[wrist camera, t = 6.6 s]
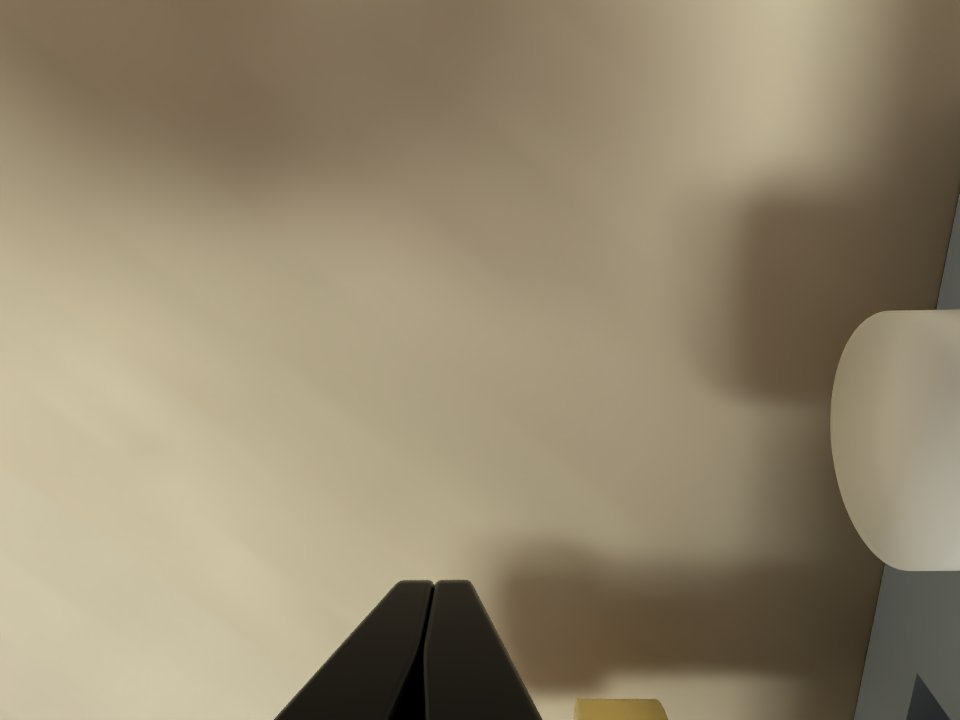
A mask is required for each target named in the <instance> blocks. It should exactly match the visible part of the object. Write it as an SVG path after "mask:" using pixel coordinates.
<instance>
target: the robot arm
mask: <svg viewBox="0 0 960 720" xmlns="http://www.w3.org/2000/svg"><path fill="white" fill-rule="evenodd" d="M274 720H542V718H541V716H540V714H539V712H538V710H537V708H536V706H535V704H534V702H533V700H532V699H531V697H530V695H529V693H528V691H527V689H526V687H525V685H524V683H523V681H522V679H521V677H520V675H519V673H518V671H517V670H516V668H515V666H514V664H513V662H512V660H511V658H510V656H509V654H508V652H507V650H506V648H505V646H504V644H503V642H502V641H501V639H500V637H499V635H498V633H497V631H496V629H495V627H494V625H493V623H492V621H491V619H490V617H489V615H488V613H487V611H486V610H485V608H484V606H483V604H482V602H481V600H480V598H479V596H478V594H477V592H476V590H475V588H474V586H473V585H472V583H471V582H470V581H468V580H440V581H438V582H437V583H436V584H435V586H434V584H433V582H432V581H430V580H403V581H400V582H398V583H397V584H396V585H395V586H394V587H393V588H392V589H391V590H390V591H389V592H388V593H387V595H386V596H385V597H384V598H383V599H382V600H381V601H380V602H379V603H378V605H377V606H376V607H375V608H374V609H373V610H372V611H371V612H370V613H369V614H368V616H367V617H366V618H365V619H364V620H363V621H362V622H361V623H360V624H359V626H358V627H357V628H356V629H355V630H354V631H353V632H352V633H351V634H350V636H349V637H348V638H347V639H346V640H345V641H344V642H343V643H342V644H341V646H340V647H339V648H338V649H337V650H336V651H335V652H334V653H333V654H332V656H331V657H330V658H329V659H328V660H327V661H326V662H325V663H324V664H323V666H322V667H321V668H320V669H319V670H318V671H317V672H316V673H315V674H314V676H313V677H312V678H311V679H310V680H309V681H308V682H307V683H306V684H305V686H304V687H303V688H302V689H301V690H300V691H299V692H298V693H297V694H296V695H295V697H294V698H293V699H292V700H291V701H290V702H289V703H288V704H287V705H286V707H285V708H284V709H283V710H282V711H281V712H280V713H279V714H278V715H277V717H276V718H275V719H274Z"/></svg>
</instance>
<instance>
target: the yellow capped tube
mask: <svg viewBox="0 0 960 720" xmlns="http://www.w3.org/2000/svg"><path fill="white" fill-rule="evenodd" d="M574 720H668V718H667V715H666V713H665V710H664V708H663V706H662V704H661V703H660V702H659V701H658V700H657V699H577V700H576V704H575V712H574Z"/></svg>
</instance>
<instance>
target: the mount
mask: <svg viewBox="0 0 960 720" xmlns="http://www.w3.org/2000/svg"><path fill="white" fill-rule="evenodd" d="M955 309H960V193H959V198H958V203H957V208H956V213H955V218H954V223H953V228H952V233H951V238H950V243H949V248H948V253H947V258H946V263H945V268H944V273H943V278H942V283H941V288H940V293H939V298H938V303H937V308H936V310H955ZM854 720H960V571H905V570H899V569H896V568H894V567H891V566H890V565H888V564H886V563H885V567H884V572H883V577H882V582H881V587H880V592H879V597H878V602H877V607H876V612H875V617H874V622H873V627H872V631H871V636H870V641H869V646H868V651H867V656H866V661H865V666H864V671H863V676H862V681H861V686H860V691H859V696H858V701H857V706H856V711H855V716H854Z"/></svg>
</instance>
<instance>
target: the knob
mask: <svg viewBox="0 0 960 720" xmlns="http://www.w3.org/2000/svg"><path fill="white" fill-rule="evenodd" d="M830 432H831V446H832V455H833V462H834V467H835V473H836V477H837V481H838V485H839V489H840V492H841V495H842V499H843V502H844V504H845V507H846V509H847V512H848V514H849V516H850V519H851V521H852V523H853V525H854V527H855V528H856V530H857V532H858V534H859V535H860V537H861V538H862V540H863V541H864V542H865V544H866V545H867V547H868V548H869V549H870V550H871V551H872V552H873V553H874V554H875V555H876V556H877V557H878V558H879V559H881V560H882V561H883V562H884V563H886V564H888V565H890V566H891V567H894V568H896V569H899V570H905V571H960V309H955V310H902V311H882V312H879V313H876V314H874V315H872V316H870V317H869V318H867V319H866V320H865V321H863V322H862V323H861V324H860V325H859V326H858V327H857V329H856V330H855V331H854V332H853V334H852V335H851V337H850V339H849V340H848V342H847V344H846V346H845V348H844V350H843V353H842V355H841V358H840V361H839V364H838V367H837V371H836V375H835V380H834V385H833V391H832V399H831V414H830Z"/></svg>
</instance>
